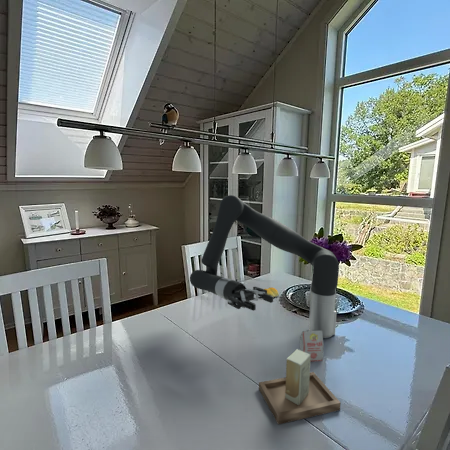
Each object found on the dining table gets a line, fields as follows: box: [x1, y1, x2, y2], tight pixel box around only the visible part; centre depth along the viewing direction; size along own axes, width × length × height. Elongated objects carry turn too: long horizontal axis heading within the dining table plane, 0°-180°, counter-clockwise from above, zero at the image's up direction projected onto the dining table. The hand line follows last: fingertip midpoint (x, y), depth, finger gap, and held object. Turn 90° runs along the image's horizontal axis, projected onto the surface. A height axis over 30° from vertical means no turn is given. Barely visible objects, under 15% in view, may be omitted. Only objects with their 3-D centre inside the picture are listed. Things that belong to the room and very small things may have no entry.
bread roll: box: [264, 287, 280, 299], centre depth 155 cm, size 8×9×4 cm
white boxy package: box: [299, 330, 324, 363], centre depth 101 cm, size 4×7×10 cm, turn 94°
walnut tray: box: [258, 371, 341, 425], centre depth 83 cm, size 18×13×2 cm
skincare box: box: [285, 348, 311, 405], centre depth 82 cm, size 6×4×12 cm
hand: (264, 303), depth 96 cm, fingers open, 8 cm apart
